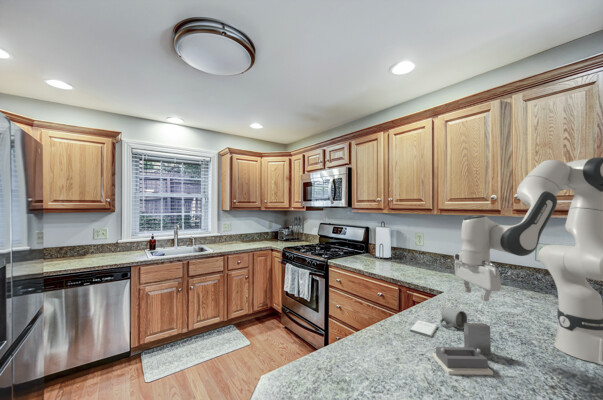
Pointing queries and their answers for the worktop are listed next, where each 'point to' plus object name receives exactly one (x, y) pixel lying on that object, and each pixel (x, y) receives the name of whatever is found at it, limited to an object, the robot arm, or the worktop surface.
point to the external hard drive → (424, 328)
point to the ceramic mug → (453, 318)
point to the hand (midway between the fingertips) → (476, 296)
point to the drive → (477, 337)
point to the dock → (462, 360)
